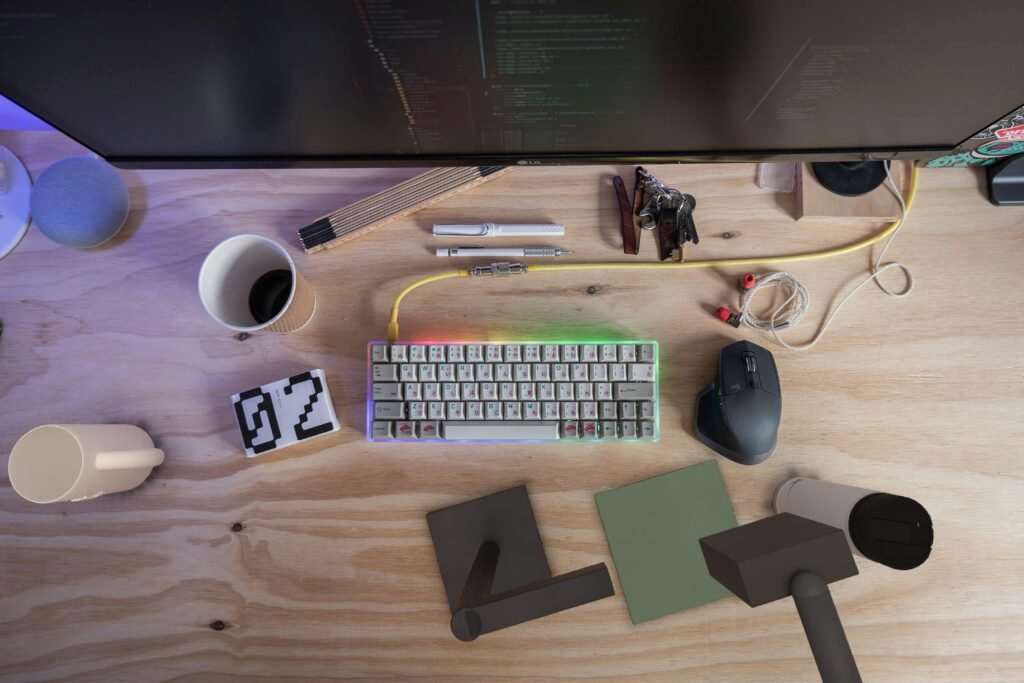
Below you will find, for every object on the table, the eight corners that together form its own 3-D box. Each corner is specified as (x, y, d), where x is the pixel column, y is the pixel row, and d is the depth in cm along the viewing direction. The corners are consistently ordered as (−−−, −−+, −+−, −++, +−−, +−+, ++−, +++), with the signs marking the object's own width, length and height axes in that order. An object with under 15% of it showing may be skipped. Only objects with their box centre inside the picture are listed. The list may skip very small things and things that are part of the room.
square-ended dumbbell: (869, 744, 37) (971, 836, 28) (776, 774, 36) (851, 876, 28) (785, 511, 39) (858, 533, 30) (697, 538, 38) (746, 568, 30)
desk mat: (758, 586, 69) (759, 587, 68) (633, 624, 69) (633, 625, 68) (715, 459, 71) (716, 459, 71) (594, 495, 71) (594, 495, 70)
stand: (595, 573, 70) (637, 665, 43) (454, 615, 69) (408, 734, 43) (565, 472, 71) (587, 500, 45) (427, 512, 71) (366, 565, 44)
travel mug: (771, 472, 71) (866, 490, 51) (828, 480, 70) (945, 501, 51) (767, 526, 70) (861, 566, 50) (824, 535, 69) (942, 578, 50)
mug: (187, 490, 72) (120, 503, 60) (89, 494, 72) (3, 507, 61) (189, 421, 73) (124, 421, 61) (93, 425, 74) (10, 425, 62)
